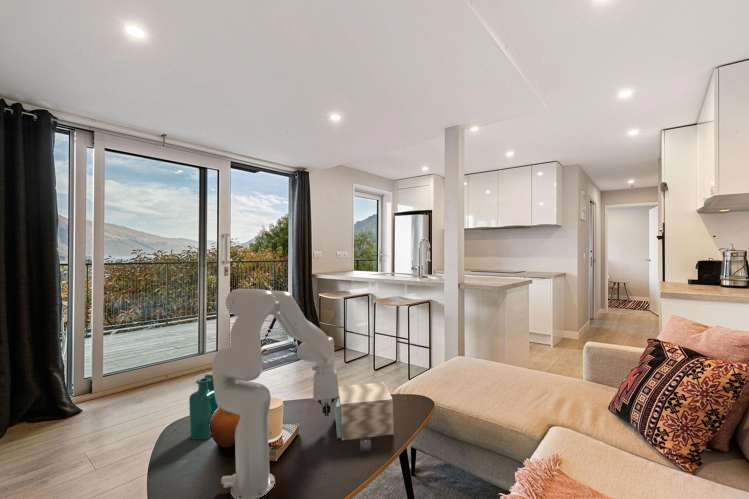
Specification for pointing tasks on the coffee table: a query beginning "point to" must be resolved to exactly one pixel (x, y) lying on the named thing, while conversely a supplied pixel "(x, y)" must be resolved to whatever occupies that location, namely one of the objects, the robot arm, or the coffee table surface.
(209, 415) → the teal bottle vase
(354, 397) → the cabinet
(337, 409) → the drawer
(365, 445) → the stand
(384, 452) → the coffee table surface
